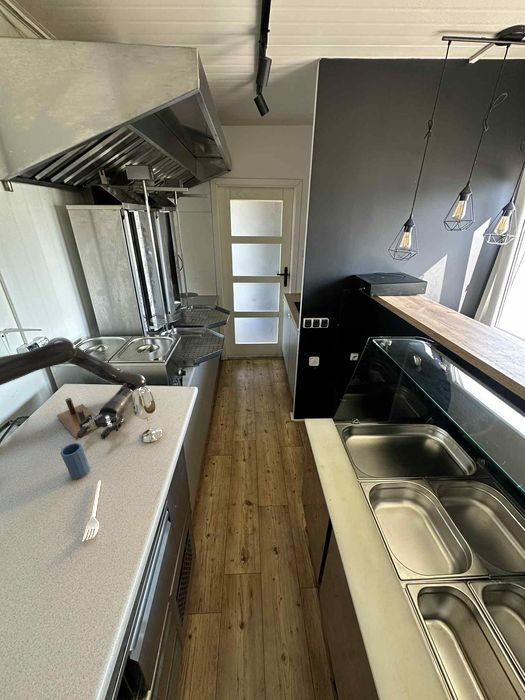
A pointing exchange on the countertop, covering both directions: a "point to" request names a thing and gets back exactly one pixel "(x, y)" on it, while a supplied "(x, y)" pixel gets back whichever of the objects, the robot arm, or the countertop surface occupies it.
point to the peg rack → (75, 418)
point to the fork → (93, 517)
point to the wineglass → (145, 412)
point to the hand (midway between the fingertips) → (90, 437)
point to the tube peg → (75, 460)
